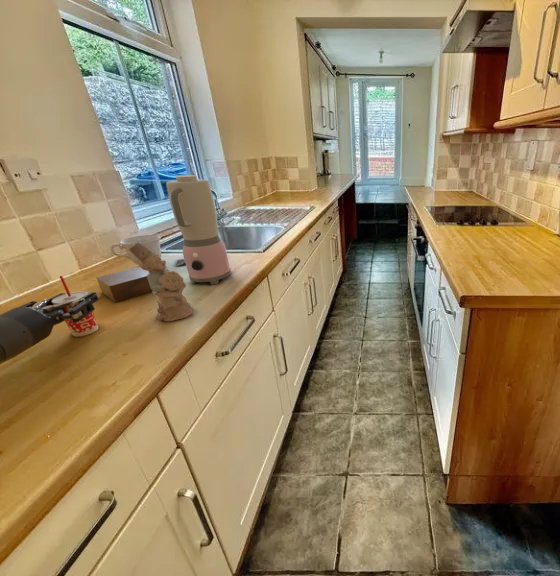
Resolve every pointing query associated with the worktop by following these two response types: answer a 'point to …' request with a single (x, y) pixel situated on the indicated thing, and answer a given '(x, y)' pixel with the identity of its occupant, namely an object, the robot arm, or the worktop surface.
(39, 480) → the worktop surface
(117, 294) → the walnut block
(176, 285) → the figurine
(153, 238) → the teacup
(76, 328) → the beverage cup
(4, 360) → the robot arm
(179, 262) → the build plate
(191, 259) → the blender
